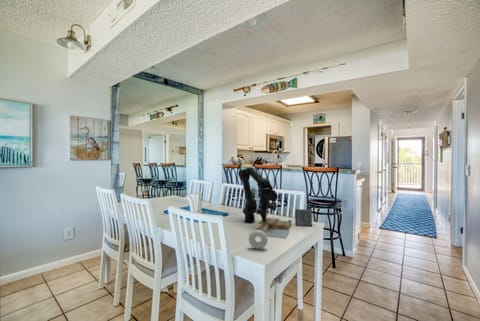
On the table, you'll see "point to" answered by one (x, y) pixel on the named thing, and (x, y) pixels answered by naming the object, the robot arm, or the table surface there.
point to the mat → (276, 232)
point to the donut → (260, 234)
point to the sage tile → (284, 220)
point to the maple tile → (262, 227)
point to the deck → (276, 224)
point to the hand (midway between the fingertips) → (264, 221)
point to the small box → (303, 217)
